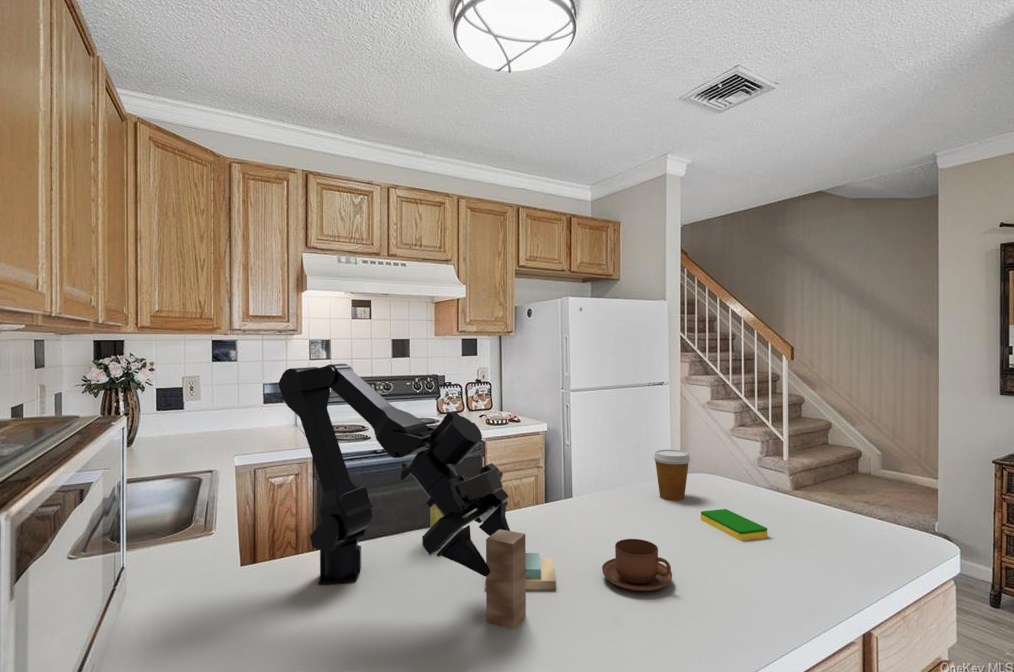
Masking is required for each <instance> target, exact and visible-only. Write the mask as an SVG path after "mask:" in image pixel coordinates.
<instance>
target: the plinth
mask: <svg viewBox="0 0 1014 672" xmlns="http://www.w3.org/2000/svg"><path fill="white" fill-rule="evenodd" d="M525 554H526V591H527V590H536V591H537V590H538V591H539V590H540V591H542V590H547V591H553V590H555V591H556V590H557V580H556V573H555V567H554V559H553V558H541V556H540V553H539V552H525ZM484 588H485V590H486V579H485V587H484Z"/></svg>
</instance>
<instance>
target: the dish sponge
mask: <svg viewBox="0 0 1014 672" xmlns="http://www.w3.org/2000/svg"><path fill="white" fill-rule="evenodd" d="M700 520H701V521H702V522H704V523H706V524H707V525H709V526H711V527H713V528H715V529H717V530H719V531H721V532H722V533H724V534H725V535H726V534H727V535H728V536H730V537H732V538H734V539H735V540H738V541H741V542H743V541H752V540H753V541H754V540H759V539H767V538H768V527H766V526H764V525H761V524H759V523H757V522H755V521H753V520H751V519H748V518H746V517H744V516H742V515H739V514H738V513H735V512H734V511H731V510H729V509H726V508H722V509H721V508H719V509H711V510H703V511H700Z"/></svg>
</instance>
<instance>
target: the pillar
mask: <svg viewBox="0 0 1014 672" xmlns="http://www.w3.org/2000/svg"><path fill="white" fill-rule="evenodd" d="M485 551H486V552H485V560H486V561H485V562H486V564H487V565H488V567H489V569H490V571H491V572H490V574H489V575H488V576H486V577H485V580H486V589H485V590H486V599H485V600H486V604H485V605H486V606H485V608H486V611H485V612H486V613H485V614H486V616H485V617H486V621H485V622H486V623H488V624H493V625H497V626H502V627H504V628H509V629H512V630H514V629H515V628H516V627H517V626H518V624H519V623H520V622H521V621H522V620H523V618H524V617H526V614H527V612H526V611H527V610H526V609H527V602H526V600H527V599H526V598H527V596H526V595H527V594H526V593H527V592H526V591H527V590H526V554H525V553H526V533H522V532H519V531H511V530H510V531H506V530H501V529H499V530H498V531H496V532H495V533H494V534H492V535H491V536H488V537H487V538H486V539H485Z"/></svg>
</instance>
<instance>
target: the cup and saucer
mask: <svg viewBox="0 0 1014 672" xmlns="http://www.w3.org/2000/svg"><path fill="white" fill-rule="evenodd" d="M614 549H615V550H614V551H615V558H612V559H609V560H607V561H605V562H604V563H603V565H602V566H601V570H602V574H603V576H604V577H605V578H606V579H607V580H608V581H609V582H610V583H611V584H613V585H615V586H617V587H620V588H622V589H625V590H630V591H634V592H635V591H637V592H652V591H656V590H660V589H663V588H665V587H666V586H667V585H669V584H670V583H671V581H672V579H673V573H672V572H673V571H672V567H671V564H670V562H669V561H668V560H667V559H665V558H663V557H660V556H659V547H658V546H657V545H656V544H655V543H653V542H651V541H650V540H649V541H648V540H644V539H640V538H639V539H638V538H625V539H621V540H619V541H617V542H616V543H615V547H614Z"/></svg>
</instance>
